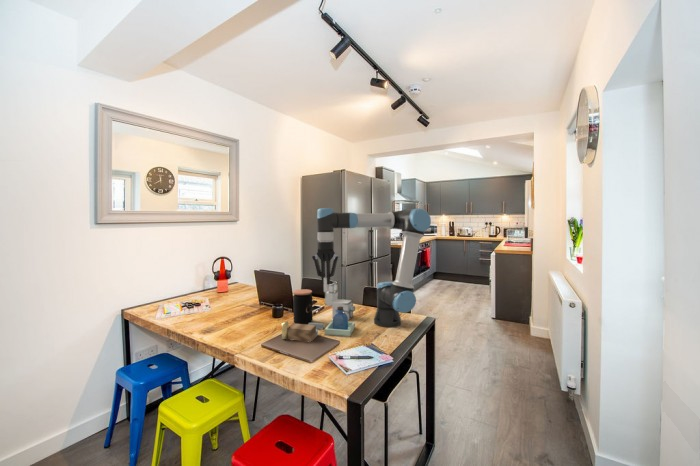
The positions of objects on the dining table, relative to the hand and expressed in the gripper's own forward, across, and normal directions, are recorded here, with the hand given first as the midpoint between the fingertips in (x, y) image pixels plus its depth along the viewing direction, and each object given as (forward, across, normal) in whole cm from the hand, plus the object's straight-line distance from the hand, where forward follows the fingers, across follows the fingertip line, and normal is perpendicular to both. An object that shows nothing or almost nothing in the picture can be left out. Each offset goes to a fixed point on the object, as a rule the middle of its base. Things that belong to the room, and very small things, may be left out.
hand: (326, 291), depth 139 cm
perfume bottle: (+24, -3, -15) cm, 28 cm away
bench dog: (+24, +21, 0) cm, 32 cm away
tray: (+24, -3, -15) cm, 29 cm away
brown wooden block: (+25, +13, -2) cm, 28 cm away
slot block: (+24, +11, -12) cm, 29 cm away
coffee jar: (+25, +21, -24) cm, 40 cm away
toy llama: (+25, +2, -37) cm, 44 cm away
